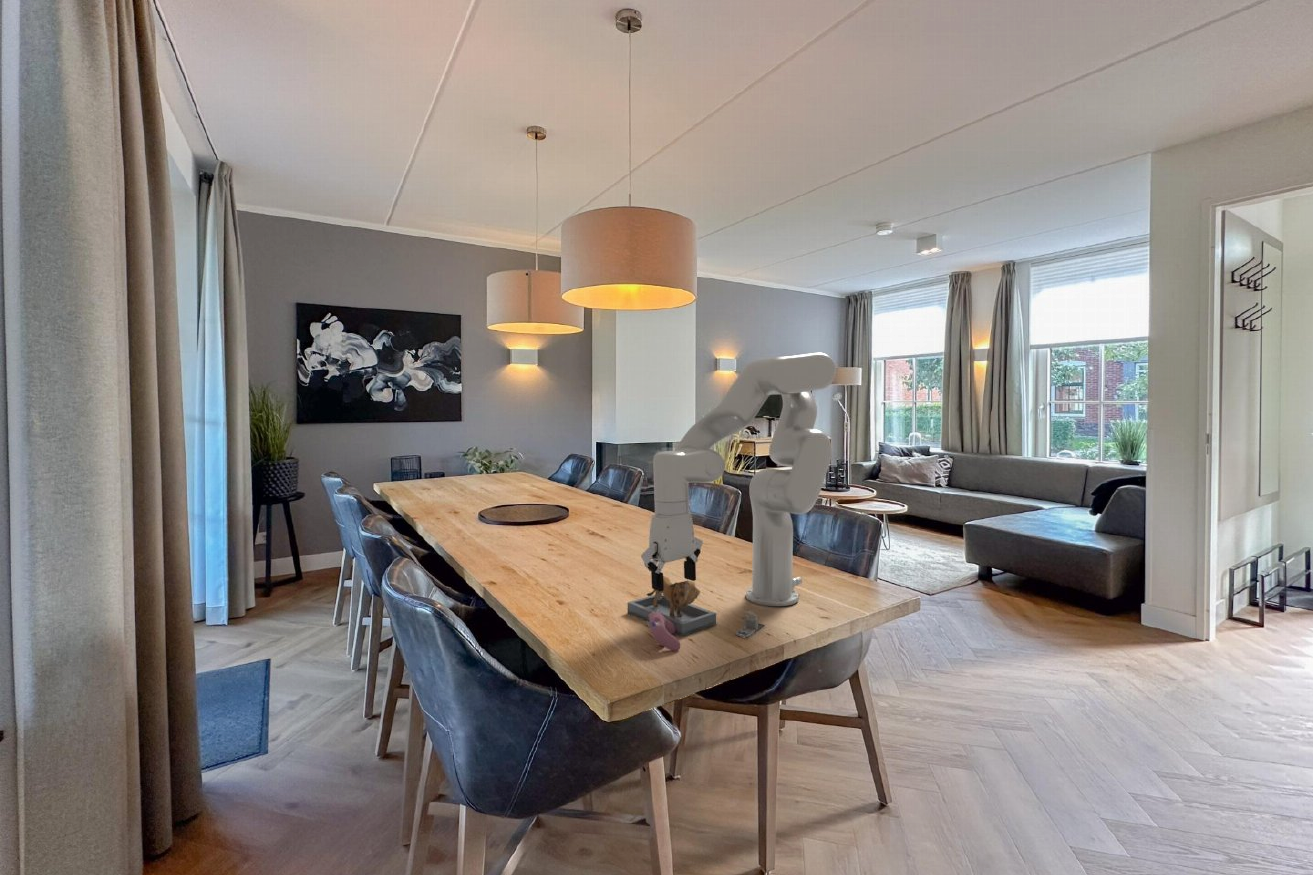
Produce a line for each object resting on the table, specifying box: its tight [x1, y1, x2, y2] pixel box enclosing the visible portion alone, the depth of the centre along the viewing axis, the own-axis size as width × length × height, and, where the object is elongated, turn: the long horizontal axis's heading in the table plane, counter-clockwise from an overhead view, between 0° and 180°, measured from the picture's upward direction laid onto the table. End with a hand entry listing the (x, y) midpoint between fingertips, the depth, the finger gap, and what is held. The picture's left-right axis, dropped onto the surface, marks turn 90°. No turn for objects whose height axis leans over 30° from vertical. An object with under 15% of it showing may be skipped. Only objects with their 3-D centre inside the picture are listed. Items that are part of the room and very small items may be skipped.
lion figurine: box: [646, 575, 701, 619], centre depth 130 cm, size 15×5×9 cm, turn 43°
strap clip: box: [735, 610, 765, 639], centre depth 123 cm, size 8×3×4 cm, turn 145°
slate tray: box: [627, 593, 717, 637], centre depth 129 cm, size 10×18×2 cm, turn 41°
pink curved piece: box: [646, 610, 681, 652], centre depth 116 cm, size 10×5×7 cm, turn 5°
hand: (674, 584), depth 130 cm, fingers open, 9 cm apart
